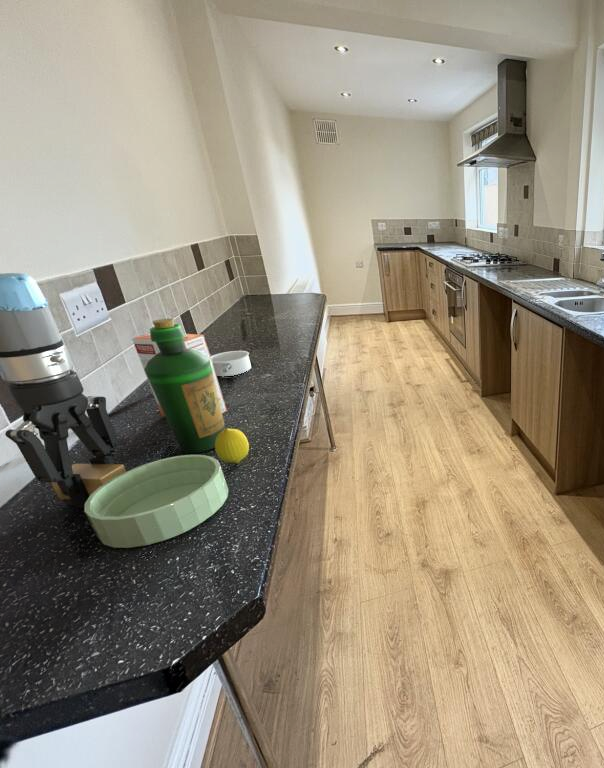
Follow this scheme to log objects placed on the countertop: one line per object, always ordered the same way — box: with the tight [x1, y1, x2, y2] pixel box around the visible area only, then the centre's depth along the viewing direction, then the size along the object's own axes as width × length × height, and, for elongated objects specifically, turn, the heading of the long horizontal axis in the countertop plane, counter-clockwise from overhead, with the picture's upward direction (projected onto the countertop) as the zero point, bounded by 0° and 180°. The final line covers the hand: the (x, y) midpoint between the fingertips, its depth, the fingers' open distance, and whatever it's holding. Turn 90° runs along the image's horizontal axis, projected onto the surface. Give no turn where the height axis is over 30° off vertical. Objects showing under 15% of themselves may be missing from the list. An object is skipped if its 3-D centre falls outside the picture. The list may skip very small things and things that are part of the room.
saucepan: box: [210, 350, 252, 378], centre depth 127 cm, size 12×20×6 cm, turn 29°
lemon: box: [214, 427, 250, 464], centre depth 82 cm, size 6×6×8 cm
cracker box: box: [131, 332, 228, 418], centre depth 100 cm, size 14×6×21 cm, turn 81°
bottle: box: [143, 318, 226, 454], centre depth 85 cm, size 11×11×28 cm
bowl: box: [83, 454, 229, 549], centre depth 69 cm, size 17×17×6 cm
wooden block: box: [50, 463, 127, 506], centre depth 72 cm, size 9×4×6 cm, turn 88°
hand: (98, 497), depth 73 cm, fingers closed on wooden block, 4 cm apart
